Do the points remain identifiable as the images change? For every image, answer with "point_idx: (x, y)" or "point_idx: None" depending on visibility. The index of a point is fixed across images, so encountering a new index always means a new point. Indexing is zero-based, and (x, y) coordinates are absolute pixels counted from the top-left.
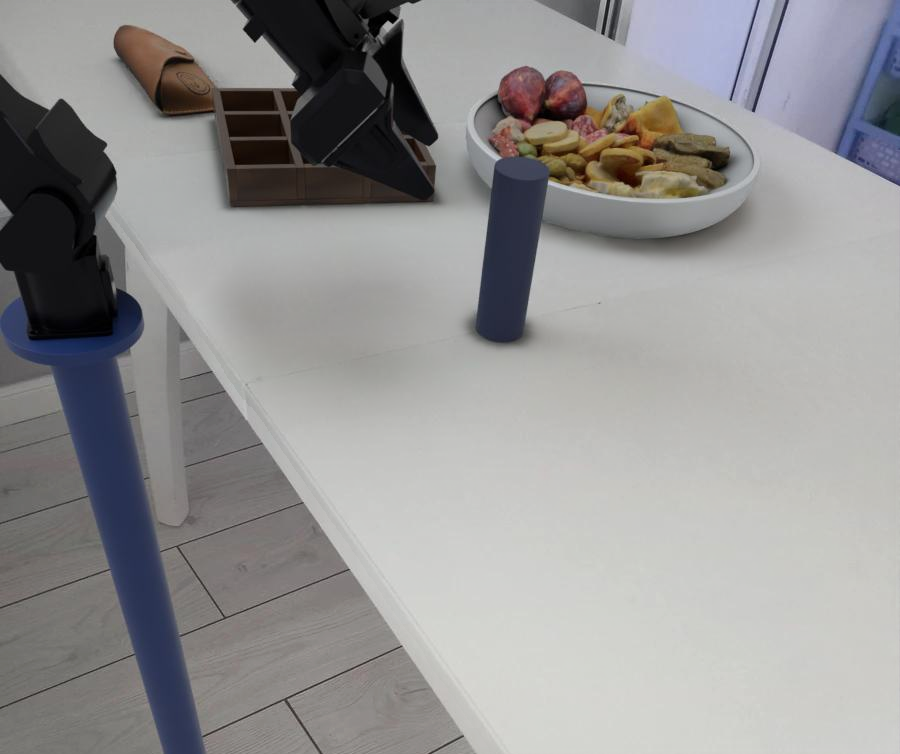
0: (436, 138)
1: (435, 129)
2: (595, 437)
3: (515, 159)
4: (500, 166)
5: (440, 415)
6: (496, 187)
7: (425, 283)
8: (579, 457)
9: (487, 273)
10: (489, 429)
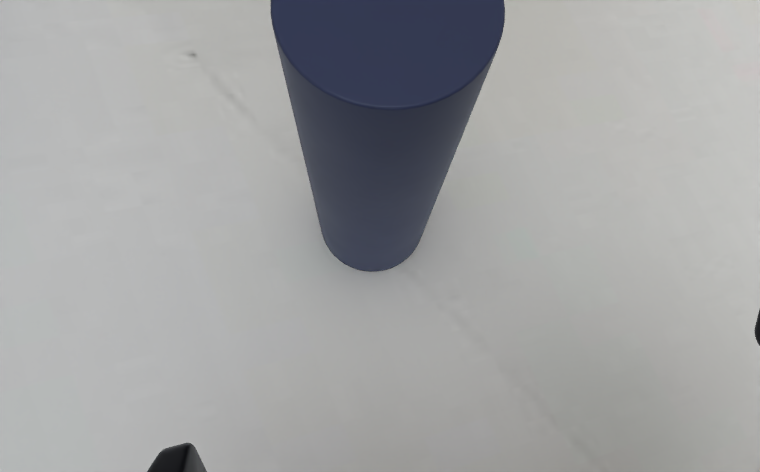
0: (194, 450)
1: (162, 469)
2: (628, 11)
3: (317, 39)
4: (418, 82)
5: (703, 260)
6: (463, 111)
7: (240, 429)
8: (690, 27)
9: (426, 212)
10: (696, 170)
